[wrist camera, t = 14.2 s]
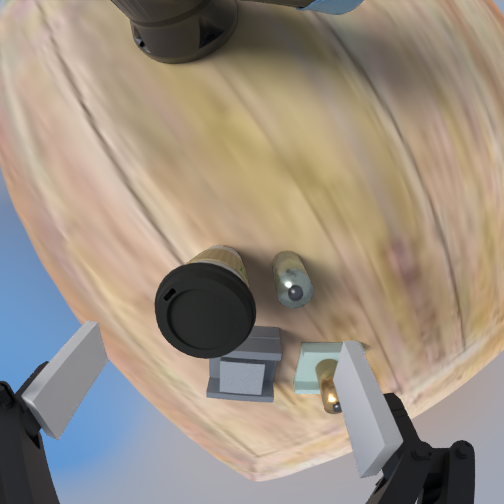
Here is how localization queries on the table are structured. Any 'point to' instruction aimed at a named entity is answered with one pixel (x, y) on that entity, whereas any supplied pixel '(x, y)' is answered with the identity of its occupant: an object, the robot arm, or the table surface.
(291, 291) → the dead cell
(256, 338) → the cradle
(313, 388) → the trough
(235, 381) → the plate
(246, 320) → the coffee cup
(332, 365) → the cell
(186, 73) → the table surface
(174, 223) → the table surface
